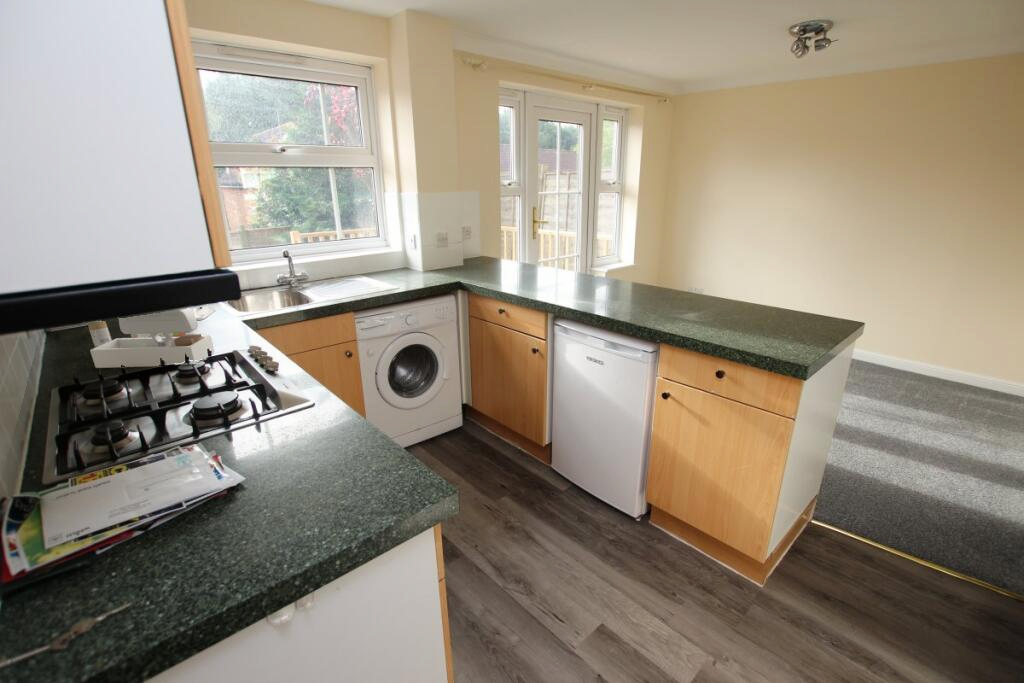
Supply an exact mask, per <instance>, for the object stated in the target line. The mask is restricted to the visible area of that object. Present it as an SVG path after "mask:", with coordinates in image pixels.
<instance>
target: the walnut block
mask: <svg viewBox="0 0 1024 683" xmlns="http://www.w3.org/2000/svg"><path fill="white" fill-rule="evenodd" d="M202 336H203V335H202V333H201V334H200V333H195V334H194V333H193V334H191V333H187V334H186V335H182V336H180V337H179V338H177V339H175V340H174V343H175V346H191V345H192V344H194V343H196V342H198V341H199V340H201V339H202Z"/></svg>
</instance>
